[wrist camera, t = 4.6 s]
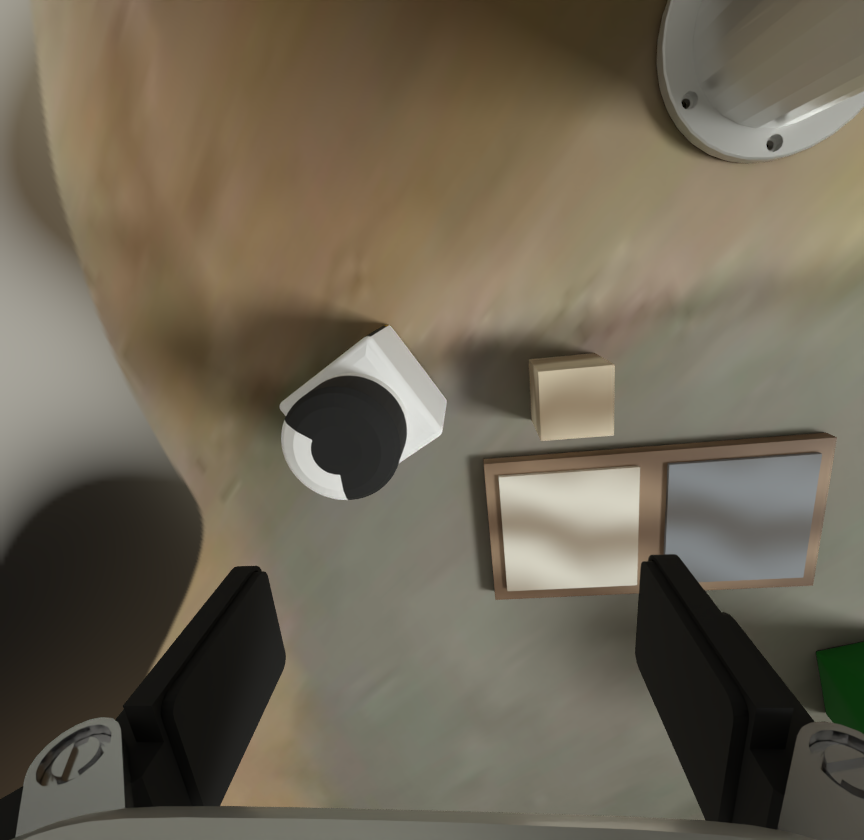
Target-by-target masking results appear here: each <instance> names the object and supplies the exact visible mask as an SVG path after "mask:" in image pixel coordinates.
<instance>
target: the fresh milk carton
mask: <svg viewBox="0 0 864 840" xmlns="http://www.w3.org/2000/svg"><path fill="white" fill-rule="evenodd" d="M816 656H817V662H818V668H819V674H820V680H821V686H822V692H823V698H824V704H825V710H826V714H827V716H828V717H829V718H830V719H831V720H832V722H833V723H835V724H841V725H843V726H846V727H849V728H851V729H854V730H857V731H859V732H861V733H863V734H864V642H860V643H855V644H850V645H845V646H841V647H836V648H831V649H826V650H822V651H816Z"/></svg>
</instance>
